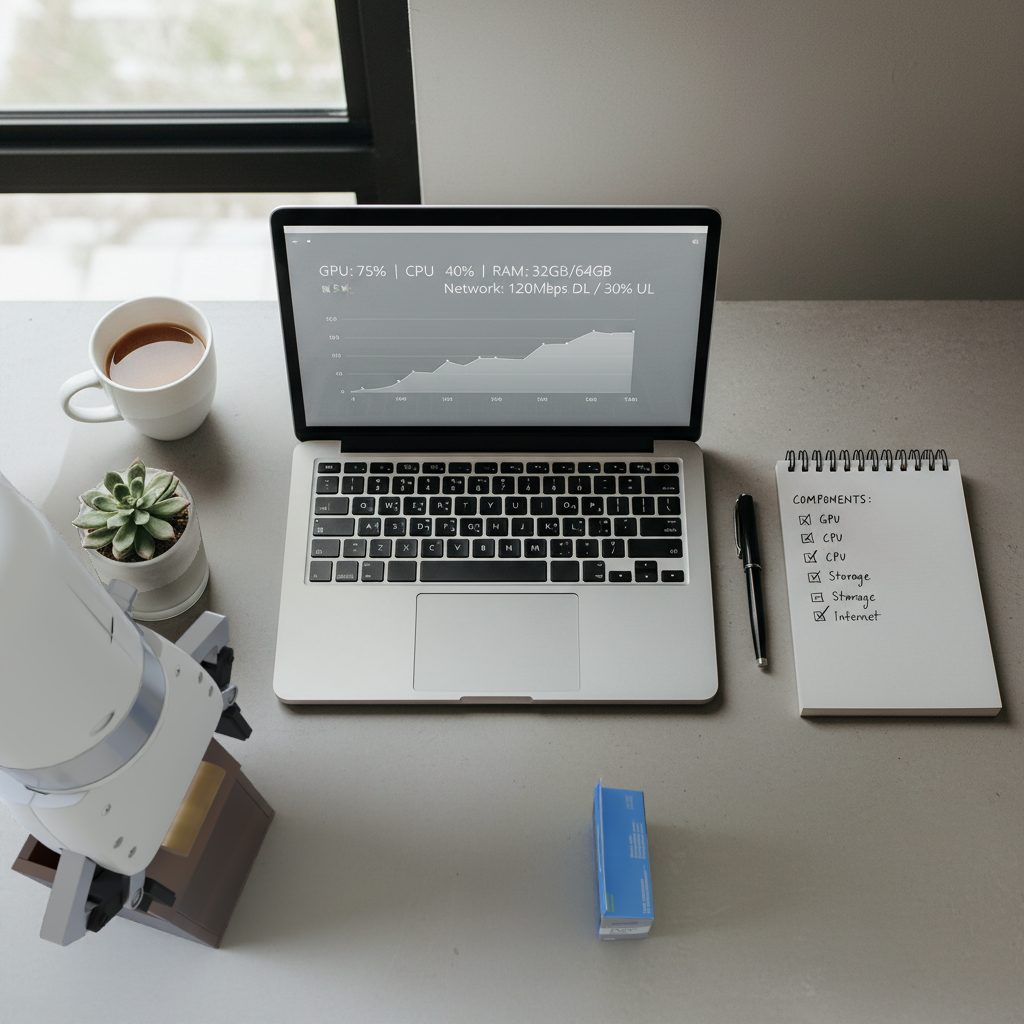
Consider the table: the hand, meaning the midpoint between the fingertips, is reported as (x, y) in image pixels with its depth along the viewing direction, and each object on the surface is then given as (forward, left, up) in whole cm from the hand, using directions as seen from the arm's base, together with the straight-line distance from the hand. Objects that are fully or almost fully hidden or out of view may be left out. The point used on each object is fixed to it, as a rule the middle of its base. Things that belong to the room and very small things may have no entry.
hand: (190, 808), depth 56 cm
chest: (-8, 0, -23) cm, 24 cm away
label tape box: (+25, +8, -23) cm, 35 cm away
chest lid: (-3, 0, -4) cm, 6 cm away
